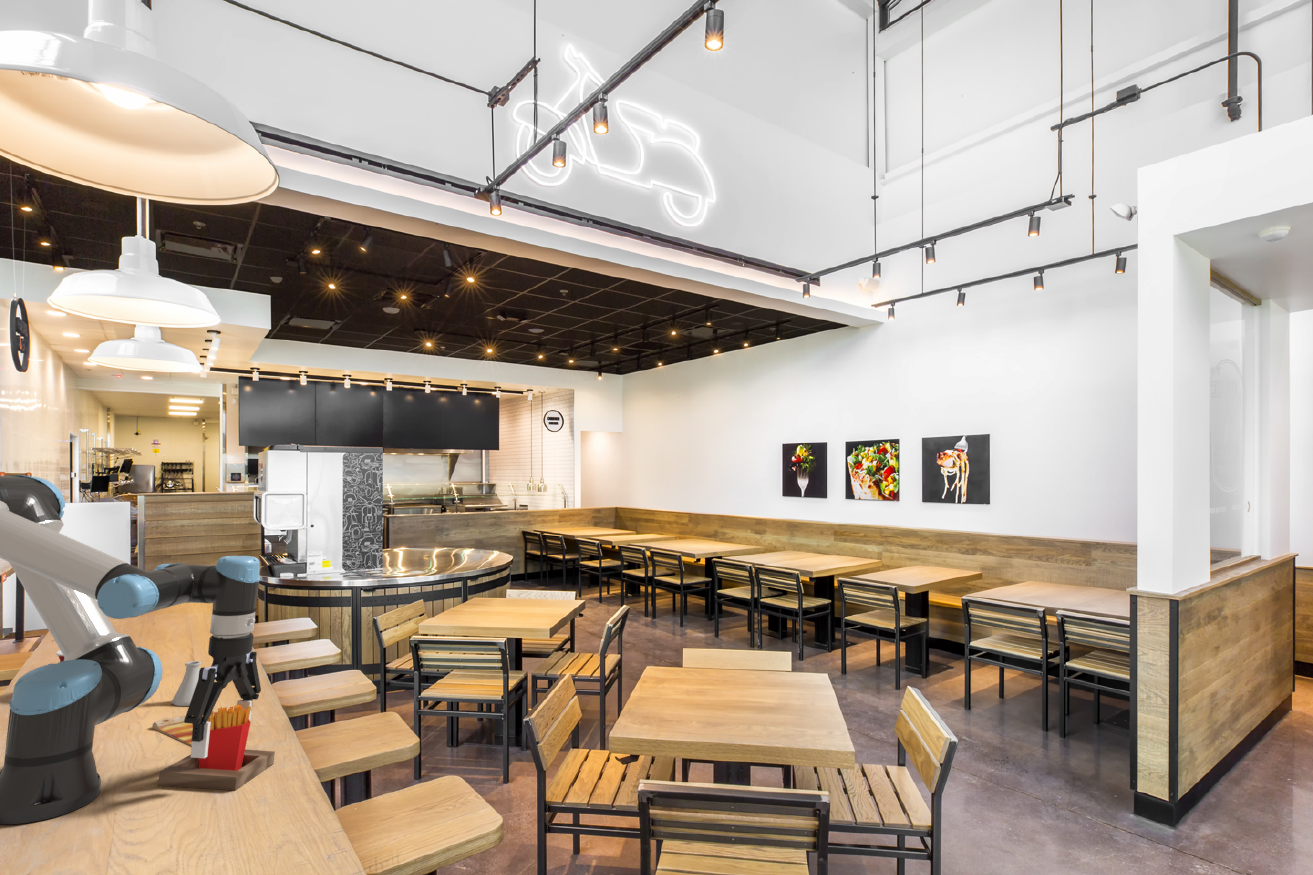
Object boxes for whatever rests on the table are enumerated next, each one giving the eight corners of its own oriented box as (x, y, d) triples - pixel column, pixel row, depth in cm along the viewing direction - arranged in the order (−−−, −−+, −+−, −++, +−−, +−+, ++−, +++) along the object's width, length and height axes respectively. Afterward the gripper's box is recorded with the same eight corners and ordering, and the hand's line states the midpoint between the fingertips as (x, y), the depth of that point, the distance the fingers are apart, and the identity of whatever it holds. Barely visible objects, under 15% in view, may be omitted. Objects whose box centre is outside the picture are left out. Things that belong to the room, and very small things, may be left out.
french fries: (243, 764, 135) (249, 700, 136) (246, 772, 132) (253, 706, 133) (189, 775, 129) (196, 708, 130) (191, 783, 126) (198, 714, 127)
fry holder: (235, 790, 124) (236, 776, 124) (158, 785, 125) (159, 771, 125) (273, 763, 136) (274, 751, 136) (203, 758, 137) (204, 746, 137)
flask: (188, 708, 164) (192, 667, 165) (164, 704, 166) (168, 664, 166) (213, 699, 171) (217, 660, 172) (190, 696, 173) (194, 657, 173)
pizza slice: (116, 758, 136) (117, 748, 136) (164, 719, 157) (165, 711, 157) (202, 754, 140) (203, 744, 140) (238, 717, 161) (239, 708, 162)
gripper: (208, 649, 120) (195, 771, 119) (285, 622, 144) (276, 723, 143) (168, 647, 121) (155, 768, 119) (252, 620, 144) (242, 721, 143)
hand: (221, 744), depth 131 cm, fingers open, 12 cm apart
